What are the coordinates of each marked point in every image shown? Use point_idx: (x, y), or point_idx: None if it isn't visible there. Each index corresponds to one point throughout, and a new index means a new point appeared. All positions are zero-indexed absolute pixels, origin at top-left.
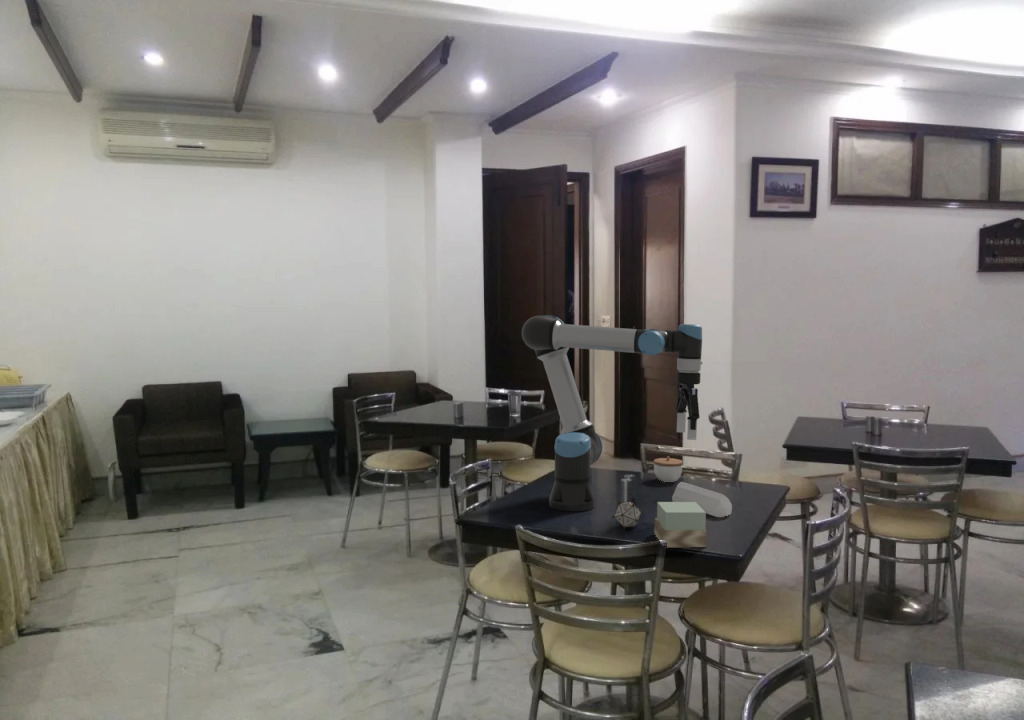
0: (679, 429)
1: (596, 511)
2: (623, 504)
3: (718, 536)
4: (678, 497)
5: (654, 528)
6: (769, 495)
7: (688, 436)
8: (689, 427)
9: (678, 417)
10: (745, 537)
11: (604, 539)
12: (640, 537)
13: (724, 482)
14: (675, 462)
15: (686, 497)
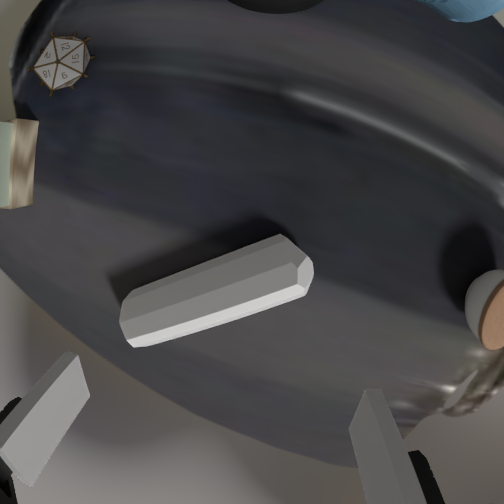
0: (364, 415)
1: (212, 10)
2: (46, 46)
3: (26, 243)
4: (259, 249)
5: (31, 120)
6: (307, 447)
7: (54, 365)
8: (23, 406)
9: (395, 485)
10: (28, 288)
11: (36, 36)
12: (29, 94)
13: (424, 403)
14: (489, 330)
15: (228, 265)
